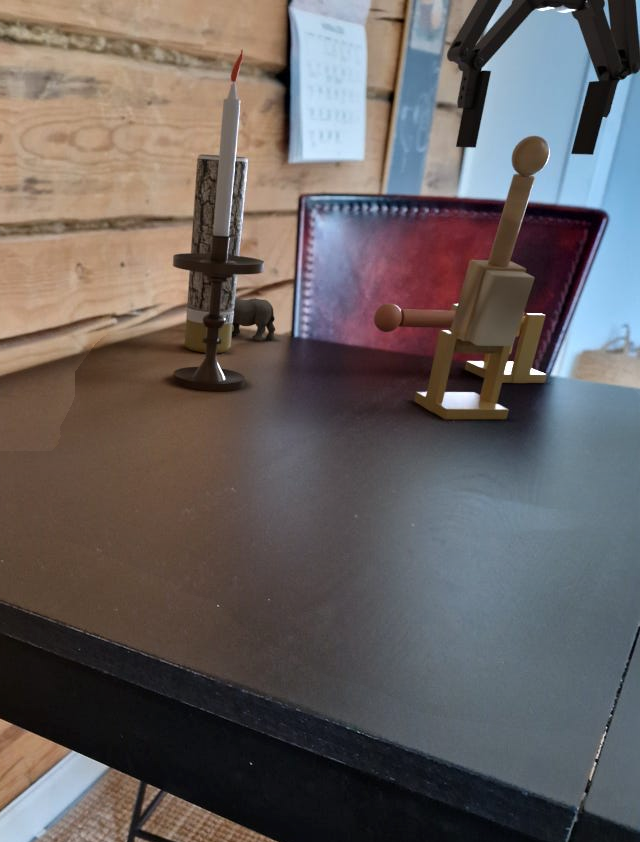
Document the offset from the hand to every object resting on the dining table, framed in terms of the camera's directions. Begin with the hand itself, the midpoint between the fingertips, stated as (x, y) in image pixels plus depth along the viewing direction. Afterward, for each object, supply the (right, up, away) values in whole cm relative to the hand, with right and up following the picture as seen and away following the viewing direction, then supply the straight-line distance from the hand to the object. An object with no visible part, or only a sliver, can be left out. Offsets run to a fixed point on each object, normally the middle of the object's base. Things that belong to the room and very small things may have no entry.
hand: (524, 151), depth 89 cm
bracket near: (-2, -23, +14) cm, 27 cm away
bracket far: (+11, -13, +33) cm, 37 cm away
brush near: (0, -11, +1) cm, 11 cm away
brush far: (+1, -11, +29) cm, 31 cm away
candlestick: (-32, -18, +19) cm, 42 cm away
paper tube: (-31, -8, +37) cm, 49 cm away
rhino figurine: (-27, -2, +48) cm, 55 cm away
